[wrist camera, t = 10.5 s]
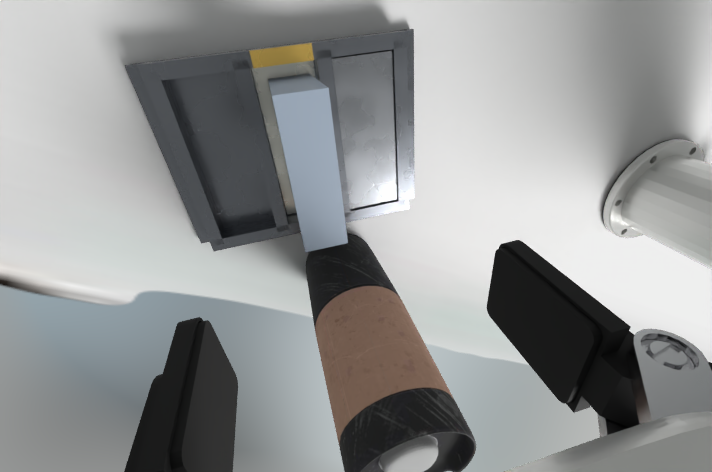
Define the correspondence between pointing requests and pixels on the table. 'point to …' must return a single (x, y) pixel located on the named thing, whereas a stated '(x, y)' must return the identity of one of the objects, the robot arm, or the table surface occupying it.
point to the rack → (261, 134)
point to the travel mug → (380, 370)
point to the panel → (310, 158)
